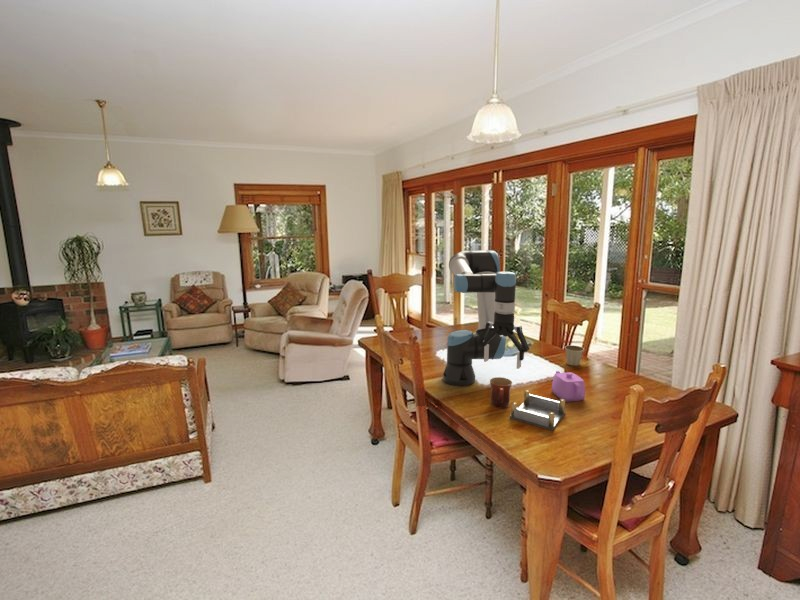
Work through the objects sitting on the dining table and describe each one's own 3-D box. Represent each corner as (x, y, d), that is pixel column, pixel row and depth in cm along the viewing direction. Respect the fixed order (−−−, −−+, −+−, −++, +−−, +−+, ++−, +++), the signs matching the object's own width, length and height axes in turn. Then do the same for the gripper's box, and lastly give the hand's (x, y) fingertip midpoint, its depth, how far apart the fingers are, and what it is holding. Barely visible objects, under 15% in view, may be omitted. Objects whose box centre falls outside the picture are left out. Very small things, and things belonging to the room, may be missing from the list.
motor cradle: (509, 418, 158) (510, 403, 156) (524, 403, 170) (525, 389, 169) (552, 430, 148) (553, 415, 147) (565, 413, 161) (566, 399, 159)
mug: (488, 399, 174) (489, 376, 172) (510, 401, 172) (511, 378, 170) (489, 412, 162) (490, 388, 160) (512, 414, 160) (513, 389, 158)
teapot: (545, 387, 185) (546, 366, 183) (567, 386, 187) (568, 364, 185) (566, 405, 168) (568, 382, 166) (590, 403, 169) (593, 380, 167)
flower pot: (565, 359, 220) (567, 344, 219) (584, 363, 215) (586, 347, 213) (561, 364, 213) (562, 348, 211) (580, 368, 208) (581, 352, 206)
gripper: (470, 309, 163) (469, 360, 168) (533, 318, 149) (529, 373, 153) (479, 306, 169) (477, 355, 174) (539, 314, 155) (536, 367, 159)
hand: (502, 364), depth 163 cm, fingers open, 13 cm apart
